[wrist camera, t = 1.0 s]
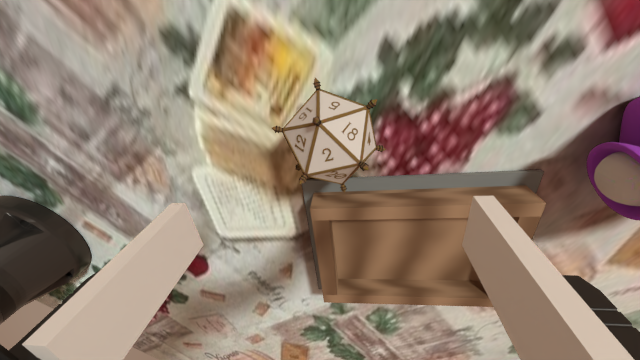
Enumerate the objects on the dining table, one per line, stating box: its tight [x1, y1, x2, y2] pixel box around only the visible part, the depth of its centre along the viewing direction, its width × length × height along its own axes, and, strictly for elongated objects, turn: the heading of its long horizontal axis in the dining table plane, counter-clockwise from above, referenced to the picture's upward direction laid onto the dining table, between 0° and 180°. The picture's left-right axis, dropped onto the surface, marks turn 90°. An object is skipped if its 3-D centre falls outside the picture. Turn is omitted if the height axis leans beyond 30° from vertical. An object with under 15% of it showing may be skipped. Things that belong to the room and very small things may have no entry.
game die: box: [272, 78, 386, 193], centre depth 22 cm, size 9×8×10 cm
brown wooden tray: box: [310, 185, 546, 307], centre depth 30 cm, size 22×15×4 cm
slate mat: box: [302, 170, 544, 289], centre depth 31 cm, size 24×18×1 cm
